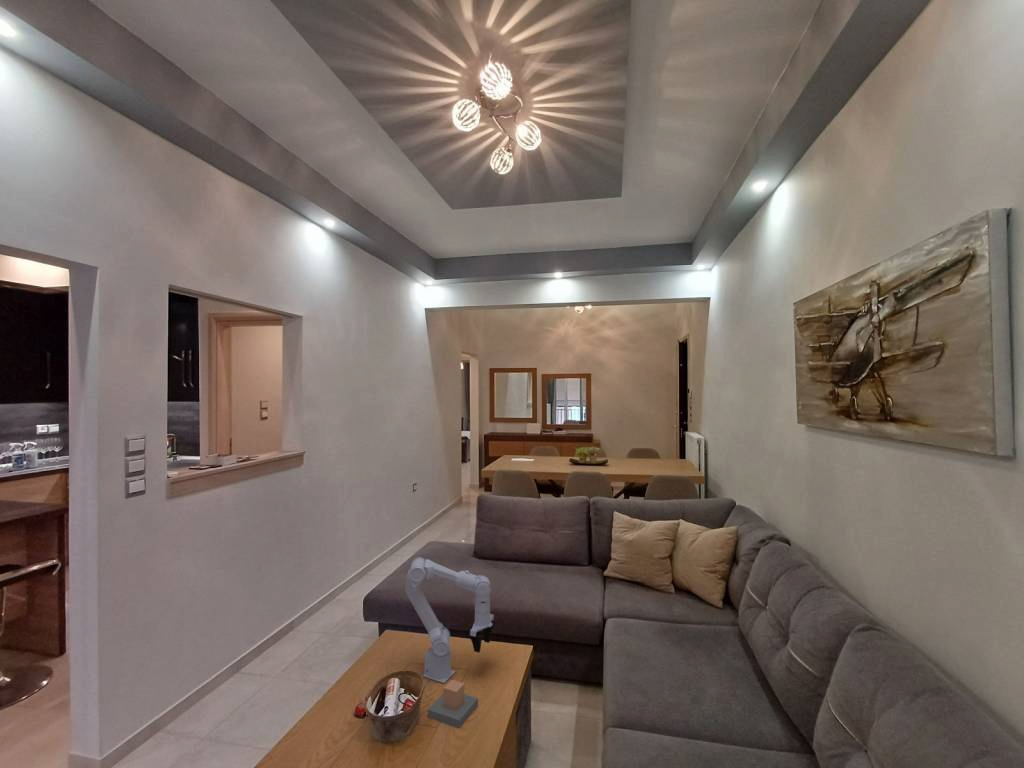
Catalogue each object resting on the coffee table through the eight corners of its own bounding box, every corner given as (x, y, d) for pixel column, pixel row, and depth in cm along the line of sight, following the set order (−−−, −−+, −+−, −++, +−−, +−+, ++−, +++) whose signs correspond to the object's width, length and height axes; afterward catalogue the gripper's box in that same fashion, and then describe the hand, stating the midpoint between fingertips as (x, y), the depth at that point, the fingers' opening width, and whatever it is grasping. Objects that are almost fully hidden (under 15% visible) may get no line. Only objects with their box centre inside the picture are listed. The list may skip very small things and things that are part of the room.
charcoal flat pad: (427, 718, 156) (427, 709, 156) (447, 697, 167) (447, 688, 167) (459, 730, 151) (459, 720, 151) (477, 707, 162) (477, 698, 162)
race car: (358, 721, 154) (358, 709, 154) (351, 713, 158) (351, 701, 158) (395, 704, 163) (395, 692, 163) (388, 696, 167) (388, 684, 167)
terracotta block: (443, 706, 158) (443, 687, 158) (451, 697, 163) (451, 679, 163) (456, 710, 156) (456, 692, 156) (464, 701, 160) (464, 683, 161)
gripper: (482, 621, 173) (481, 658, 173) (500, 605, 186) (500, 640, 186) (465, 616, 176) (465, 654, 176) (484, 601, 189) (484, 636, 189)
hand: (482, 646), depth 181 cm, fingers open, 7 cm apart
